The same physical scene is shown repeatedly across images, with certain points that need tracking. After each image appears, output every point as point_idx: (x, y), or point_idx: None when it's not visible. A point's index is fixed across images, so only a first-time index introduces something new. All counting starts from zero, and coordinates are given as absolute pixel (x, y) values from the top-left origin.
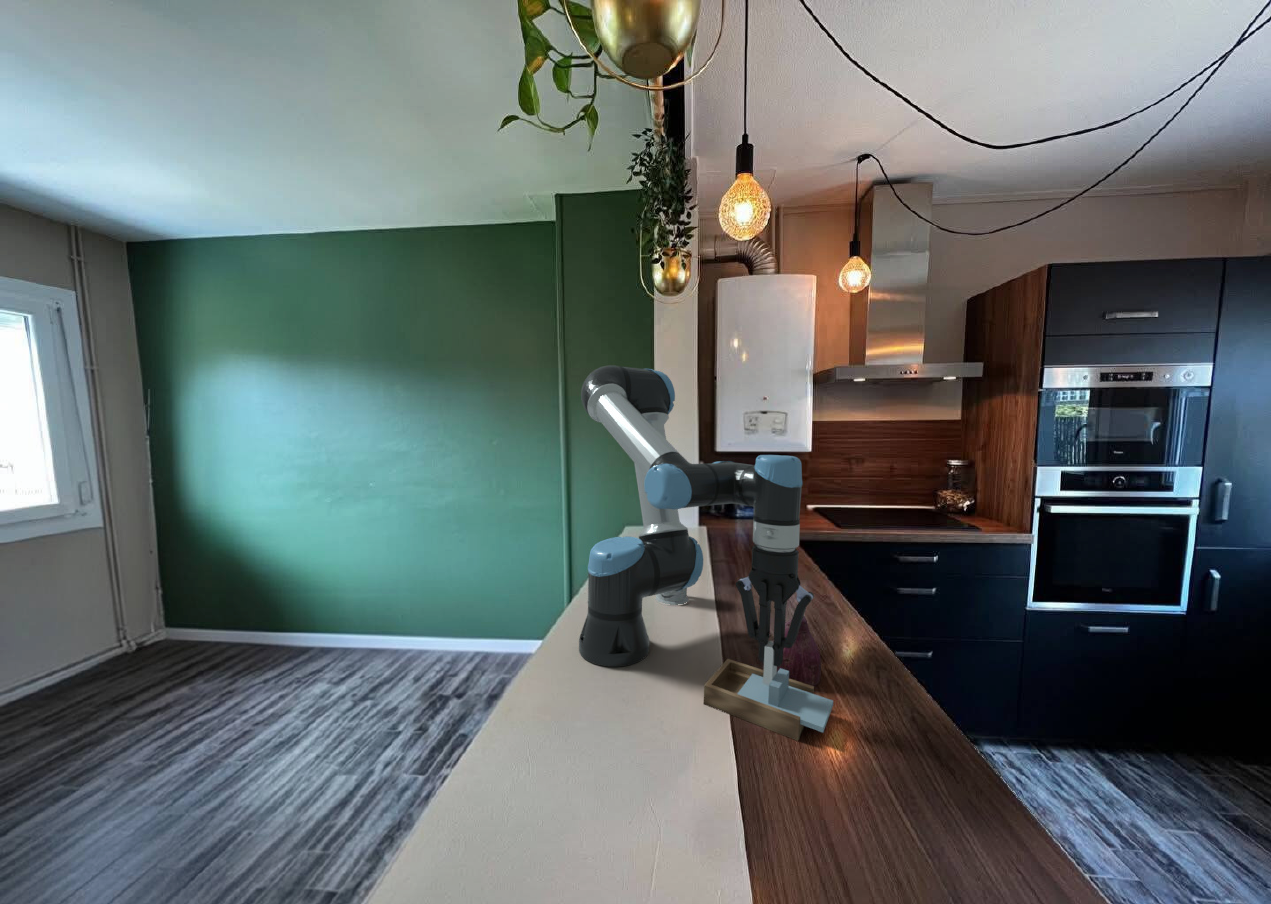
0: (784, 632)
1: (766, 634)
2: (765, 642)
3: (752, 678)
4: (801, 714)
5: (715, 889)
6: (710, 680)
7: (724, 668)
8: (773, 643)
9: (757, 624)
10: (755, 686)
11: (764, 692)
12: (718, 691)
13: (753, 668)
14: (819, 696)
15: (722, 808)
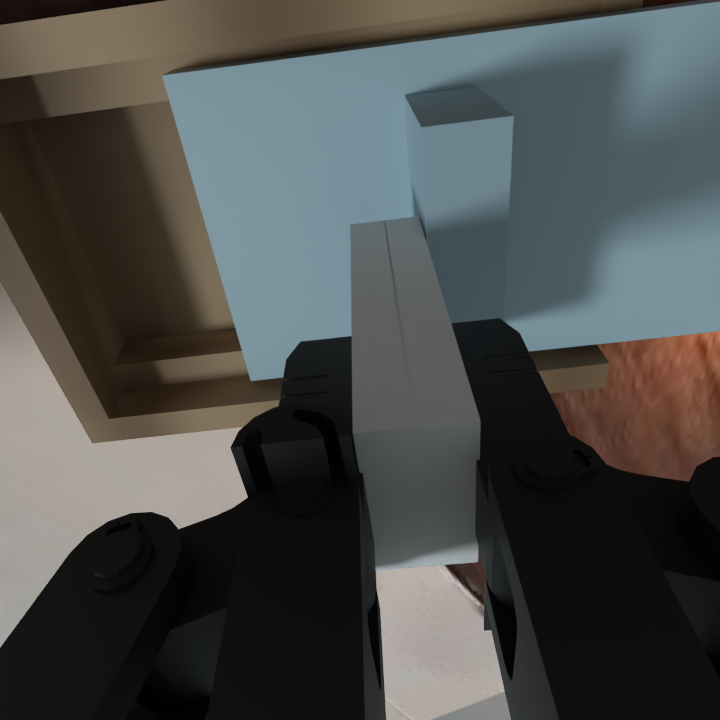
0: (677, 631)
1: (380, 685)
2: (376, 593)
3: (206, 148)
4: (602, 304)
5: (495, 691)
6: (74, 393)
7: (2, 220)
8: (434, 468)
9: (126, 710)
10: (280, 233)
11: None
12: (175, 428)
13: (135, 36)
14: (717, 9)
15: (441, 615)
